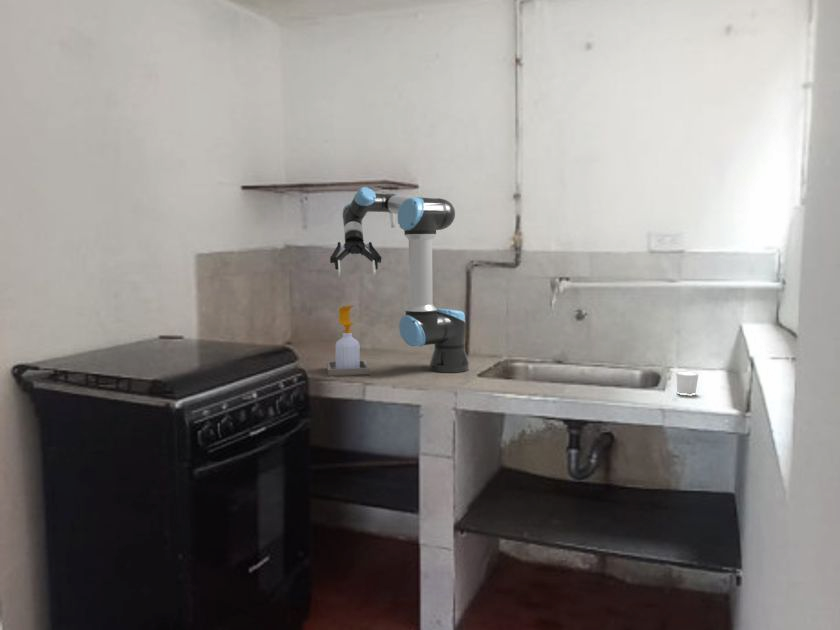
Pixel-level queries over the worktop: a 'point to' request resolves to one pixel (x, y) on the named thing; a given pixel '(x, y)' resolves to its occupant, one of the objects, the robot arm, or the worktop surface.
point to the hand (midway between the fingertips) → (357, 274)
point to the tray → (347, 370)
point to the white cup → (686, 382)
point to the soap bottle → (347, 343)
